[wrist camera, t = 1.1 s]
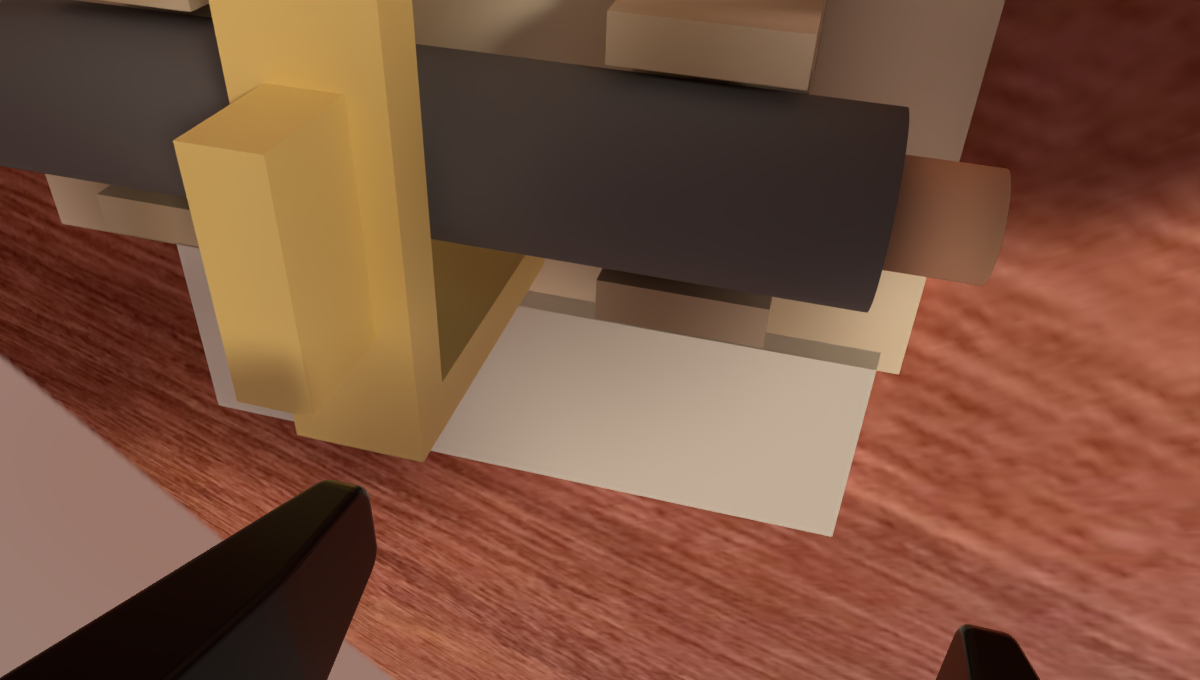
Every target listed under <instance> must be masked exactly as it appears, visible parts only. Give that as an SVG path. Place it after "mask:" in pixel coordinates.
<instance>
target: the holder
mask: <svg viewBox="0 0 1200 680" xmlns="http://www.w3.org/2000/svg"><path fill="white" fill-rule="evenodd" d="M78 1H85V2H93V3H101V4H109V5H117V6H124V7H132V8H140V9H148V10H156V11H163V12H171V13H179V14H187V15H195V16H202V17H210V18H212V15H211V10H210V5H209V0H78ZM1004 3H1005V0H412V6H413V19H414V31H415V44H421V45H429V46H436V47H444V48H452V49H460V50H468V51H475V52H483V53H491V54H499V55H507V56H514V57H522V58H530V59H538V60H546V61H553V62H561V63H569V64H577V65H585V66H592V67H600V68H608V69H616V70H624V71H631V72H639V73H647V74H655V75H663V76H670V77H678V78H686V79H694V80H702V81H709V82H717V83H725V84H733V85H741V86H748V87H756V88H764V89H772V90H779V91H787V92H795V93H803V94H811V95H818V96H826V97H834V98H842V99H850V100H857V101H865V102H873V103H881V104H889V105H896V106H904V107H908V108H909V131H908V140H907V148H906V155H913V156H920V157H927V158H935V159H942V160H949V161H956V162H959V161H960V158H961V154H962V150H963V147H964V143H965V140H966V136H967V133H968V129H969V126H970V122H971V119H972V115H973V112H974V108H975V105H976V101H977V98H978V94H979V91H980V87H981V84H982V80H983V77H984V73H985V69H986V66H987V62H988V59H989V55H990V52H991V48H992V45H993V41H994V38H995V34H996V31H997V27H998V24H999V20H1000V17H1001V13H1002V10H1003V6H1004ZM45 175H46V178H47V181H48V184H49V187H50V190H51V193H52V196H53V199H54V202H55V205H56V208H57V211H58V214H59V217H60V220H61V223H62V224H66V225H72V226H78V227H83V228H89V229H94V230H100V231H105V232H111V233H116V234H122V235H127V236H133V237H139V238H144V239H150V240H155V241H161V242H166V243H172V244H177V245H179V244H181V245H183V246H185V245H186V246H187V245H188V246H189V245H190V247H193V246H195V248H196V247H197V248H199V245H198V241H197V237H196V233H195V229H194V225H193V220H192V216H191V212H190V208H189V204H188V200H187V198H186V197H180V196H174V195H168V194H162V193H156V192H150V191H144V190H139V189H133V188H127V187H121V186H115V185H109V184H103V183H97V182H91V181H85V180H80V179H74V178H68V177H62V176H56V175H50V174H45ZM178 243H179V244H178ZM925 281H926V277H923V276H916V275H910V274H904V273H898V272H891V271H885V270H882V273H881V277H880V281H879V284H878V287H877V291H876V294H875V297H874V300H873V303H872V305H871V307H870V309H869V311H868V312H867V313H865V312H859V311H853V310H847V309H841V308H836V307H830V306H824V305H818V304H812V303H806V302H800V301H794V300H788V299H782V298H776V297H771V296H765V295H759V294H753V293H747V292H741V291H735V290H729V289H723V288H717V287H712V286H706V285H700V284H694V283H688V282H682V281H676V280H670V279H664V278H658V277H652V276H647V275H641V274H635V273H629V272H623V271H617V270H611V269H605V268H599V267H593V266H587V265H582V264H576V263H570V262H564V261H558V260H552V259H546V258H544V265H543V267H542V269H541V270H540V272H539V273H538V275H537V277H536V278H535V280H534V282H533V283H532V285H531V287H530V288H529V290H528V291H529V292H530V291H531V292H530V293H532V291H534V292H533V293H532V294H534V296H533V295H532V294H530V293H529V292H528V293H529V294H530V295H529V297H530V298H532V297H531V295H532V296H533V298H534V299H535V298H536V300H535V301H536V302H537V303H538V304H539V305H540V303H539V302H540V301H543V303H545V300H546V303H547V304H546V303H545V305H547V307H548V304H550V303H551V302H552V303H551V304H550V305H549V306H550V307H552V306H551V305H553V304H554V302H555V301H556V300H559V299H560V297H559V296H561V297H562V298H563V297H564V298H565V299H567V297H568V299H569V298H572V299H573V300H574V301H573V300H572V299H570V301H571V300H572V301H571V302H572V303H573V304H575V303H577V302H578V299H579V301H581V302H580V305H582V306H581V307H582V308H583V309H582V308H580V306H579V307H578V305H579V304H578V303H579V302H578V303H577V304H578V305H576V306H575V305H574V306H575V307H576V308H578V309H579V308H580V309H581V311H582V310H583V312H584V311H586V309H587V308H588V307H590V306H591V304H593V303H594V302H595V304H594V305H595V307H594V306H593V307H594V308H592V309H593V310H594V311H593V310H592V309H591V308H590V309H591V310H592V311H593V313H594V312H595V313H594V315H595V316H593V314H592V311H591V310H590V309H588V310H589V311H590V312H591V313H590V312H589V311H587V312H586V313H587V314H588V312H589V313H590V314H588V315H592V316H593V319H595V318H596V319H600V320H601V319H602V320H601V321H603V320H605V321H606V322H607V320H608V321H611V322H610V323H612V322H615V323H616V324H617V322H618V323H619V324H621V325H627V324H629V325H630V326H631V325H632V326H633V325H635V326H636V327H641V328H642V327H643V328H645V327H647V328H650V329H649V330H652V329H656V330H657V329H658V330H657V331H659V330H660V331H661V330H664V331H665V332H667V331H669V332H670V333H673V332H674V333H675V334H677V333H678V334H677V335H680V334H682V335H683V334H684V336H688V335H689V336H692V337H694V338H695V337H696V336H697V337H699V338H700V339H705V338H706V339H705V340H707V338H708V339H713V340H715V341H716V340H717V341H718V340H719V341H721V342H724V341H725V342H726V343H727V342H729V343H730V344H732V343H736V344H740V345H738V346H741V345H742V346H743V345H744V346H745V347H747V346H749V347H750V346H751V347H753V348H757V347H758V348H763V349H764V348H765V347H766V345H764V342H765V341H766V339H768V338H769V337H770V336H769V334H768V333H772V336H774V334H778V335H781V337H779V340H778V341H777V342H776V339H777V336H776V335H775V336H774V337H773V339H775V337H776V339H775V340H774V341H773V343H775V344H776V345H774V344H773V343H772V344H773V347H774V346H775V347H776V346H778V347H779V346H780V345H779V344H777V343H778V342H779V341H780V340H781V341H782V337H783V336H787V337H789V339H791V337H793V340H792V341H793V344H794V345H795V344H796V343H797V342H796V340H797V339H798V338H799V339H798V340H800V341H798V340H797V341H798V342H799V343H800V344H801V346H802V347H804V348H802V347H801V348H802V350H803V349H806V348H805V345H809V344H811V345H812V343H814V346H816V345H815V341H817V343H818V342H819V343H820V342H822V343H823V345H824V346H826V343H829V344H830V345H831V344H832V345H836V346H835V347H837V345H840V346H839V347H841V346H843V347H844V346H845V347H847V349H845V353H847V352H849V353H852V354H851V355H852V357H851V358H853V355H854V356H855V357H856V356H857V355H858V356H859V355H860V356H861V355H862V357H865V360H866V361H865V360H863V359H862V358H861V357H860V356H859V357H860V358H861V360H863V362H864V363H865V362H866V364H867V365H869V366H868V367H866V366H865V365H866V364H864V363H863V362H862V363H861V361H860V362H859V363H860V364H859V363H857V364H859V365H861V364H862V365H863V367H864V366H865V368H866V369H868V368H869V367H870V368H869V369H871V368H872V366H874V365H875V364H876V363H877V362H878V363H877V364H878V365H877V367H874V368H875V370H877V371H882V372H888V373H893V374H899V372H900V369H901V365H902V362H903V358H904V355H905V351H906V348H907V344H908V341H909V337H910V334H911V330H912V327H913V323H914V319H915V316H916V312H917V309H918V305H919V302H920V298H921V295H922V291H923V288H924V284H925ZM535 292H537V296H539V293H540V296H539V297H540V299H541V300H539V301H537V299H539V298H538V297H535V296H536V295H535ZM538 292H539V293H538ZM528 293H527V294H526V295H528ZM542 293H543V294H544V295H542V296H541V294H542ZM545 294H548V295H545ZM549 294H551V295H550V296H549ZM526 295H525V296H526ZM552 295H553V299H554V300H555V301H553V300H552V299H551V297H552ZM555 295H556V296H557V297H556V296H555ZM543 296H545V298H547V297H546V296H548V298H550V299H549V300H550V303H548V302H549V301H548V299H544V300H543V299H542V297H543ZM554 297H555V298H554ZM558 297H559V298H558ZM524 298H525V297H524ZM527 298H528V296H527V297H526V298H525V299H524V300H523V301H524V303H525V304H526V305H524V307H526V306H527V305H528V304H530V303H531V302H532V301H533V302H534V300H533V299H532V300H531V299H530V300H529V298H528V299H527ZM543 298H544V297H543ZM526 299H527V300H526ZM568 299H567V300H568ZM575 299H577V302H575ZM525 300H526V301H528V300H529V301H528V302H530V303H528V304H527V303H526V302H525ZM567 300H565V301H567ZM582 300H584V302H583V301H582ZM523 301H522V303H523ZM560 301H562V302H560ZM560 301H556V303H558V302H560V303H559V304H557V305H558V306H560V304H561V303H562V304H561V306H562V307H563V308H564V309H563V308H562V307H561V306H560V308H562V309H563V310H564V312H565V309H566V308H565V306H566V304H565V303H564V304H565V306H564V305H563V300H562V299H560ZM570 301H567V302H566V303H567V305H568V306H569V307H570V305H571V306H572V305H573V304H571V302H570ZM586 301H587V302H588V303H590V306H589V304H587V302H586ZM589 301H591V302H592V303H591V302H589ZM533 302H532V303H531V304H533ZM536 302H534V303H535V304H536ZM569 302H570V303H569ZM574 302H575V303H574ZM582 302H583V303H585V302H586V303H585V304H587V306H588V307H587V306H585V307H587V308H586V309H585V310H584V308H585V307H583V304H581V303H582ZM524 303H523V304H524ZM541 303H542V302H541ZM543 303H542V305H544V304H543ZM568 303H569V304H570V305H569V304H568ZM531 304H530V305H531ZM538 304H536V305H538ZM585 304H584V305H585ZM533 305H534V304H533ZM519 306H522V304H521V303H520V305H519ZM534 306H535V305H534ZM540 306H541V305H540ZM558 306H557V308H559V307H558ZM568 306H567V309H568ZM574 306H572V307H570V309H569V312H571V311H570V310H572V309H575V310H573V311H574V312H573V311H572V312H571V313H572V315H571V314H569V315H571V316H573V315H574V314H573V313H576V312H577V313H578V311H577V309H576V308H575V307H574ZM527 307H528V306H527ZM530 307H531V308H532V307H533V306H532V305H531V306H530ZM535 307H536V308H537V309H538V307H539V306H538V307H537V306H535ZM541 307H542V306H541ZM543 307H545V306H543ZM543 307H542V308H543ZM553 307H554V308H555V309H556V307H555V306H554V305H553ZM573 307H574V308H573ZM591 307H592V306H591ZM536 308H535V309H536ZM539 308H540V307H539ZM542 308H541V309H540V310H542ZM545 308H546V307H545ZM554 308H552V309H553V310H552V311H553V312H554V311H555V310H554ZM571 308H572V309H571ZM533 309H534V308H533ZM547 309H548V308H546V309H544V308H543V310H545V311H549V309H550V308H549V309H548V310H547ZM567 309H566V312H565V313H566V315H568V314H567V313H568V310H567ZM580 309H579V311H580ZM538 310H539V309H538ZM556 310H557V311H558V309H556ZM550 312H551V309H550ZM555 312H556V311H555ZM560 312H561V313H563V312H562V311H561V310H559V311H558V313H560ZM583 312H581V313H578V315H579V314H581V315H583V317H584V316H586V314H585V315H584V313H585V312H584V313H583ZM556 313H557V312H556ZM561 313H560V314H561ZM577 313H576V316H578V315H577ZM582 313H583V314H582ZM563 314H564V313H563ZM574 316H575V315H574ZM579 316H580V315H579ZM579 316H578V317H579ZM580 317H581V316H580ZM586 317H587V316H586ZM594 317H595V318H594ZM584 318H585V317H584ZM588 318H589V316H588ZM589 319H590V318H589ZM591 319H592V318H591ZM596 319H595V320H596ZM600 320H599V321H600ZM622 323H623V324H622ZM624 323H625V324H624ZM627 326H628V325H627ZM656 330H655V331H656ZM664 331H663V332H664ZM669 332H668V333H669ZM674 333H673V334H674ZM679 333H680V334H679ZM766 333H767V335H766ZM685 334H686V335H685ZM765 335H766V336H769V337H768V338H766V336H765ZM782 335H783V336H782ZM701 337H702V338H701ZM787 337H784V338H783V339H784V340H785V341H784V342H786V343H787V344H788V345H787V344H786V343H785V344H786V345H787V346H786V347H788V346H789V347H791V346H792V347H793V346H794V345H793V344H792V343H791V345H790V344H789V343H788V342H792V341H788V340H789V339H788V338H787ZM794 337H795V338H796V339H794ZM786 338H787V339H786ZM770 339H772V338H770ZM770 339H768V340H770ZM801 339H804V340H805V341H806V340H808V341H809V342H810V343H809V344H807V343H808V342H807V341H806V342H807V343H806V342H805V343H806V344H804V346H803V344H802V343H803V342H802V341H804V340H802V341H801ZM764 340H765V341H764ZM786 340H787V341H788V342H787V341H786ZM717 341H716V342H717ZM781 341H780V343H781V344H783V343H782V342H783V341H782V342H781ZM794 341H795V342H796V343H795V342H794ZM811 341H812V343H811ZM725 342H724V343H725ZM771 342H772V340H770V343H769V342H768V341H767V343H768V344H767V343H766V344H767V346H768V345H771ZM801 342H802V343H801ZM729 343H728V344H729ZM799 343H798V344H799ZM817 343H816V344H817ZM822 343H820V344H819V345H820V347H819V348H820V349H819V348H817V350H818V349H819V352H821V351H823V352H822V353H821V354H823V353H825V354H826V352H825V350H828V351H827V353H828V352H829V351H833V350H834V349H835V348H834V347H833V346H832V345H831V347H832V348H831V347H830V346H829V347H828V346H826V348H827V349H825V348H824V349H825V350H824V349H822V350H821V346H822V348H823V345H822ZM824 343H825V344H824ZM829 344H828V345H829ZM732 345H733V344H732ZM763 345H764V347H763ZM782 346H783V347H785V346H784V345H782ZM782 346H780V347H782ZM796 346H797V345H795V346H794V347H793V348H796ZM799 346H800V345H799ZM812 346H813V345H812ZM812 346H811V347H812ZM814 346H813V348H816V347H814ZM751 347H750V348H751ZM768 347H769V346H768ZM773 347H772V346H770V347H769V349H771V350H772V352H773V350H775V349H776V348H775V349H774V348H773ZM780 347H779V351H778V350H777V349H776V351H775V352H778V353H779V352H780V351H781V352H780V353H782V354H783V353H784V352H782V350H783V349H784V348H783V347H782V348H783V349H782V350H781V349H780ZM786 347H785V350H786V349H787V348H786ZM789 347H788V349H790V348H789ZM806 347H807V348H808V346H806ZM817 347H818V344H817ZM843 347H842V348H841V349H842V352H843V350H844V348H845V347H844V348H843ZM772 348H773V349H772ZM793 348H792V349H793ZM798 348H799V350H800V349H801V348H800V347H798ZM809 348H810V345H809ZM828 348H829V349H830V348H831V350H829V349H828ZM852 348H854V349H853V350H855V348H856V350H859V349H861V352H862V351H863V350H868V351H867V352H866V354H864V355H865V356H864V355H863V354H861V352H860V353H859V351H858V352H855V353H856V354H857V355H856V354H854V351H853V352H852ZM765 349H767V350H769V349H768V348H767V347H766V348H765ZM765 349H764V350H765ZM832 349H833V350H832ZM836 349H837V350H838V352H837V353H838V356H837V354H836V353H835V352H836V351H835V352H834V351H833V352H832V353H833V357H835V356H836V357H837V358H838V357H839V356H840V355H841V354H839V353H840V352H841V350H840V351H839V349H840V348H836ZM836 349H835V350H836ZM848 349H850V351H848ZM862 349H863V350H862ZM761 350H762V349H761ZM767 350H766V351H767ZM785 350H783V351H785ZM790 350H791V349H790ZM790 350H788V351H790ZM802 350H800V351H802ZM807 350H808V349H806V352H805V354H808V356H807V357H808V358H810V359H811V358H812V357H813V356H814V355H813V353H814V354H815V353H816V350H814V349H813V350H812V351H813V353H811V349H809V350H808V352H807ZM820 350H821V351H820ZM788 351H787V352H788ZM793 351H794V349H793V350H792V351H790V352H792V353H793ZM796 351H797V349H796V350H795V353H797V352H796ZM809 351H810V352H809ZM846 351H847V352H846ZM869 351H870V353H869ZM871 351H873V352H874V353H873V352H871ZM785 352H786V351H785ZM787 352H786V354H787ZM819 352H818V353H819ZM842 352H841V353H842ZM863 352H864V351H863ZM876 352H880V353H881V354H877V353H876ZM792 353H791V354H792ZM801 353H802V354H803V355H801V356H802V357H803V356H804V355H805V354H804V350H803V352H801ZM801 353H799V352H798V354H801ZM818 353H816V354H818ZM829 353H830V352H829ZM829 353H828V354H829ZM832 353H831V354H832ZM834 353H835V354H836V355H835V354H834ZM845 353H844V352H843V354H844V355H846V354H845ZM867 353H869V354H868V355H867ZM875 353H876V354H877V355H878V356H877V355H876V356H877V357H880V358H876V357H873V356H875ZM789 354H790V353H789ZM789 354H788V355H789ZM798 354H797V356H799V357H800V355H798ZM810 354H812V355H813V356H812V355H811V356H812V357H811V356H810V357H809V355H810ZM825 354H823V355H821V356H820V358H822V356H823V357H825V356H824V355H825ZM828 354H826V356H827V358H825V359H824V358H823V359H822V360H824V361H825V360H826V359H827V360H828V359H829V360H828V361H829V362H830V361H831V360H830V358H828ZM847 354H848V353H847ZM871 354H872V355H873V356H872V355H871ZM792 355H794V356H796V355H795V354H792ZM819 355H820V353H819ZM834 355H835V356H834ZM851 355H849V354H848V355H846V357H847V356H849V357H850V356H851ZM869 355H871V356H869ZM817 356H818V355H817ZM829 356H830V354H829ZM867 356H869V357H868V358H869V359H871V357H873V358H874V359H875V360H874V361H875V363H874V361H872V360H871V361H872V362H871V363H873V364H872V366H871V364H868V362H869V359H868V361H867ZM804 357H805V356H804ZM807 357H806V358H807ZM815 357H816V355H815ZM815 357H814V358H815ZM818 357H819V356H818ZM830 357H831V358H832V356H830ZM840 357H841V356H840ZM849 357H848V358H847V359H850V358H849ZM855 357H854V358H855ZM859 357H858V358H857V359H859ZM816 358H817V357H816ZM816 358H815V359H816ZM842 358H843V362H841V361H842V360H841V361H840V362H841V363H842V364H844V361H845V360H844V359H846V358H845V357H843V355H842V357H841V359H842ZM854 358H853V359H854ZM832 359H833V358H832ZM835 359H836V358H835ZM847 359H846V360H847ZM877 359H879V360H877ZM818 360H819V358H818ZM820 360H821V359H820ZM822 360H821V361H822ZM827 360H826V361H827ZM833 360H834V359H833ZM839 360H840V359H838V360H837V359H836V361H835V360H834V361H835V363H837V361H838V364H839V363H840V362H839ZM850 360H851V359H850ZM855 360H856V358H855ZM859 360H860V359H859ZM876 360H877V362H876ZM847 361H848V360H847ZM852 361H854V360H852ZM852 361H850V364H849V365H851V362H852ZM856 361H857V362H858V360H856ZM831 362H833V361H831ZM854 362H855V361H854ZM833 363H834V362H833ZM841 363H840V364H841ZM847 363H849V361H848V362H847ZM847 363H846V361H845V364H844V365H846V364H847ZM852 363H853V362H852ZM855 364H856V363H854V364H853V366H855ZM857 364H856V366H857ZM847 365H848V364H847ZM859 365H858V367H861V366H862V365H861V366H859ZM851 366H852V365H851ZM856 366H855V367H856ZM875 366H876V365H875ZM863 367H861V368H863ZM872 370H874V369H872Z"/></svg>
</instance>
